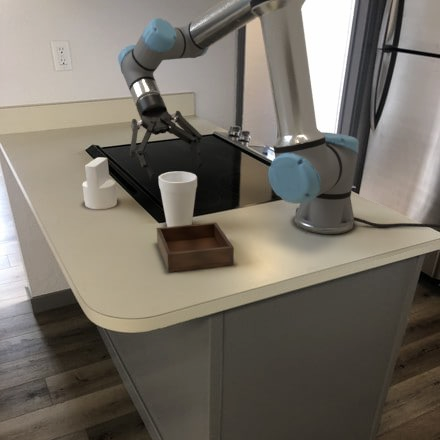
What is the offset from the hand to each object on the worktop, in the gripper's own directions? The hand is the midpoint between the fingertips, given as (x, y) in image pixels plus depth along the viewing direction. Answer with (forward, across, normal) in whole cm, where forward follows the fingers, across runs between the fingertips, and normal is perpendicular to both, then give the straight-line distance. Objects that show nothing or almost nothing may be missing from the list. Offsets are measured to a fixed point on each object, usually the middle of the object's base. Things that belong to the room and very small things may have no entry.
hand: (176, 171), depth 128 cm
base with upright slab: (-4, +18, -19) cm, 26 cm away
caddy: (+26, +8, +10) cm, 28 cm away
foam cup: (+14, +4, -2) cm, 15 cm away
